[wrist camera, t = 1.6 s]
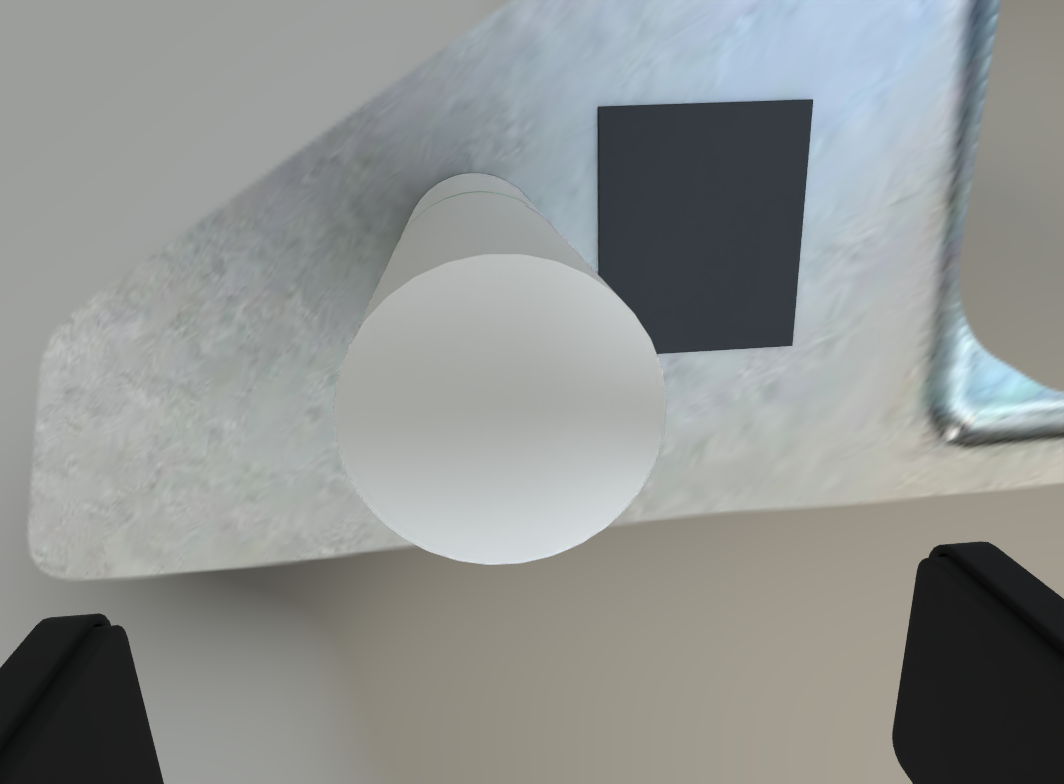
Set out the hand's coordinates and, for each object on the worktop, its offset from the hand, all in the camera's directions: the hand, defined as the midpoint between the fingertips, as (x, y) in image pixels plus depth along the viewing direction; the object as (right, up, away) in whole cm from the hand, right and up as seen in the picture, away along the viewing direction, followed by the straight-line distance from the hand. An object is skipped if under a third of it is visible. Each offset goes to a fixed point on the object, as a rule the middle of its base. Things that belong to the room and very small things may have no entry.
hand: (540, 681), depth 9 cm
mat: (+9, +12, +32) cm, 35 cm away
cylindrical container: (-3, +11, +31) cm, 33 cm away
